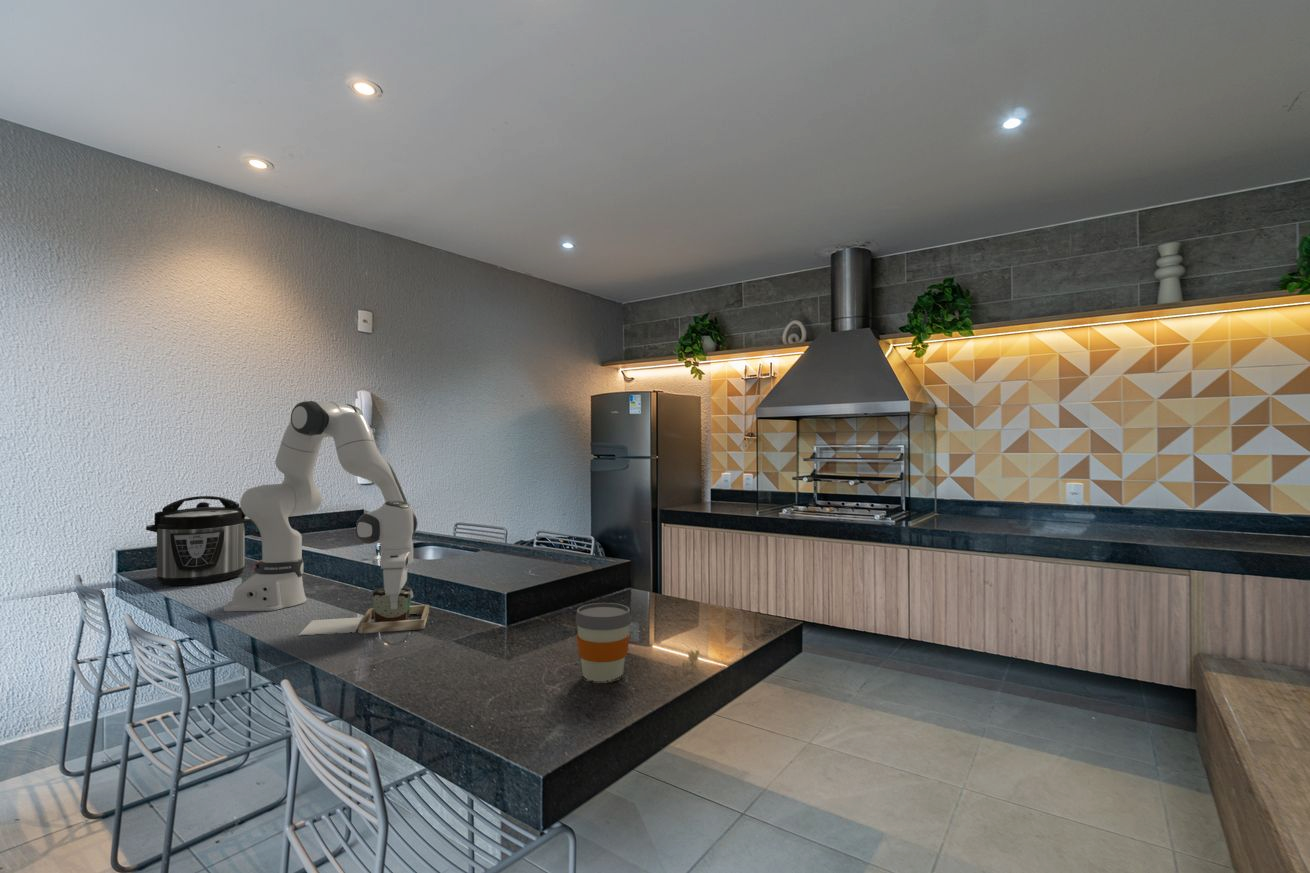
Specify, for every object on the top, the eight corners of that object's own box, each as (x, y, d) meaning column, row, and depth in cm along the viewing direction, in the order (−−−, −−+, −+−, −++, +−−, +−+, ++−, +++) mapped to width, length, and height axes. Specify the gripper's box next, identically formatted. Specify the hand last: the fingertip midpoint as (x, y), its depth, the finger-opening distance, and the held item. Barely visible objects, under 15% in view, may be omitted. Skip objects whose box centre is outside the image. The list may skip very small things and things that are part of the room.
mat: (298, 636, 164) (298, 634, 164) (312, 621, 177) (312, 620, 177) (355, 632, 168) (355, 630, 168) (364, 618, 181) (364, 616, 181)
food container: (420, 620, 180) (421, 586, 180) (410, 626, 173) (411, 591, 174) (381, 619, 181) (382, 585, 181) (369, 625, 175) (370, 590, 175)
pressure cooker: (129, 588, 217) (130, 499, 217) (188, 571, 245) (189, 493, 245) (214, 588, 217) (216, 499, 218) (263, 571, 246) (264, 493, 246)
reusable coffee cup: (584, 690, 129) (584, 620, 129) (568, 670, 141) (569, 605, 141) (638, 681, 134) (639, 613, 134) (619, 663, 146) (619, 600, 146)
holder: (358, 633, 167) (358, 624, 167) (369, 616, 183) (369, 608, 183) (424, 628, 171) (424, 620, 171) (429, 612, 188) (429, 604, 188)
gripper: (390, 551, 186) (389, 596, 186) (379, 563, 167) (379, 614, 167) (412, 550, 188) (411, 595, 188) (404, 562, 169) (403, 612, 168)
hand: (396, 604), depth 177 cm, fingers open, 8 cm apart
